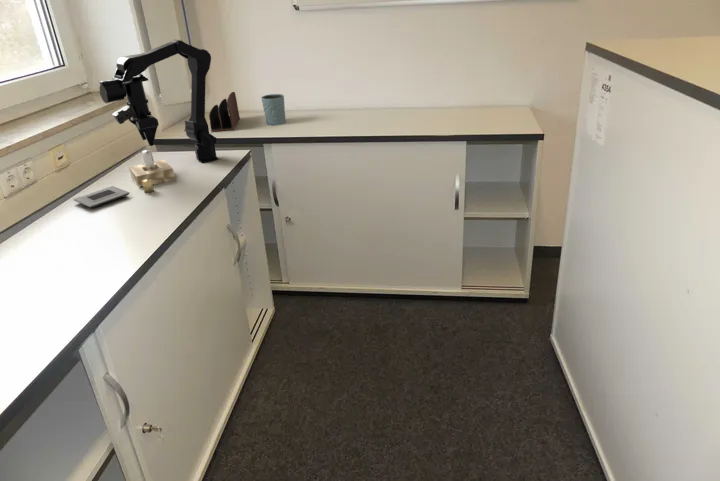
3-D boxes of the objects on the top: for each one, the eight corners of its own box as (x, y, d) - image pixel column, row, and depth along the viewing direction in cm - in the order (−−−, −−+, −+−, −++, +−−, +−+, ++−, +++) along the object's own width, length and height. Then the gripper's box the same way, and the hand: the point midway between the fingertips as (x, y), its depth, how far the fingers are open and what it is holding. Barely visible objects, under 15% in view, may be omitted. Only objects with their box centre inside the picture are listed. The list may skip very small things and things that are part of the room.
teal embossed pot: (277, 126, 240) (273, 99, 234) (260, 124, 244) (256, 97, 239) (291, 121, 247) (288, 94, 242) (274, 119, 252) (271, 93, 247)
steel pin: (156, 176, 189) (149, 149, 184) (158, 178, 186) (152, 151, 182) (147, 178, 187) (140, 150, 183) (149, 180, 185) (142, 152, 181)
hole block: (166, 170, 194) (163, 159, 192) (175, 179, 185) (172, 168, 183) (131, 177, 189) (128, 167, 187) (139, 187, 180) (136, 176, 178)
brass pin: (153, 189, 178) (150, 177, 176) (155, 192, 175) (152, 180, 174) (143, 191, 176) (140, 180, 175) (145, 194, 174) (142, 182, 172)
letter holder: (240, 119, 255) (235, 89, 249) (233, 131, 237) (228, 98, 231) (218, 121, 255) (213, 90, 248) (211, 132, 237) (205, 100, 231)
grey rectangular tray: (114, 191, 179) (112, 185, 178) (131, 198, 173) (129, 191, 172) (75, 205, 170) (73, 198, 169) (91, 212, 164) (89, 205, 163)
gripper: (105, 96, 181) (117, 141, 188) (116, 106, 167) (129, 154, 174) (139, 91, 186) (150, 135, 193) (153, 99, 172) (164, 147, 179)
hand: (147, 142), depth 185 cm, fingers open, 9 cm apart
